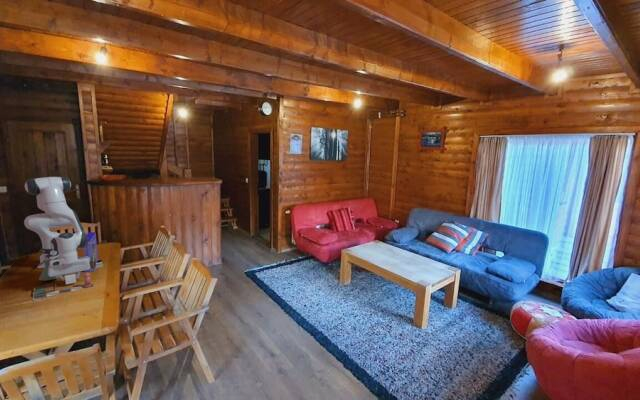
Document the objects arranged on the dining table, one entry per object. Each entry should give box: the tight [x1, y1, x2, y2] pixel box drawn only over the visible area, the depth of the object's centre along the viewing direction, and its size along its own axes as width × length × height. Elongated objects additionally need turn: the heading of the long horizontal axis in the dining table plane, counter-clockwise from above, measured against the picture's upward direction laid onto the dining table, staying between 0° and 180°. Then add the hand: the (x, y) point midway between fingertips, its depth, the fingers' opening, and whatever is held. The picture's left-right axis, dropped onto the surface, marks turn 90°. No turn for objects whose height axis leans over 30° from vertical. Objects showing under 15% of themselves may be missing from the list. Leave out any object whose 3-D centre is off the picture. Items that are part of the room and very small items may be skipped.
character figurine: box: [29, 255, 61, 283], centre depth 184 cm, size 16×8×18 cm, turn 123°
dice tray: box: [32, 282, 57, 297], centre depth 175 cm, size 10×10×2 cm
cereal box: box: [82, 231, 99, 273], centre depth 208 cm, size 17×5×24 cm, turn 29°
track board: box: [32, 283, 94, 301], centre depth 175 cm, size 5×28×1 cm, turn 131°
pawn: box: [83, 272, 93, 289], centre depth 181 cm, size 4×4×9 cm
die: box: [64, 272, 77, 285], centre depth 183 cm, size 5×5×5 cm
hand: (70, 279), depth 183 cm, fingers closed on die, 5 cm apart
